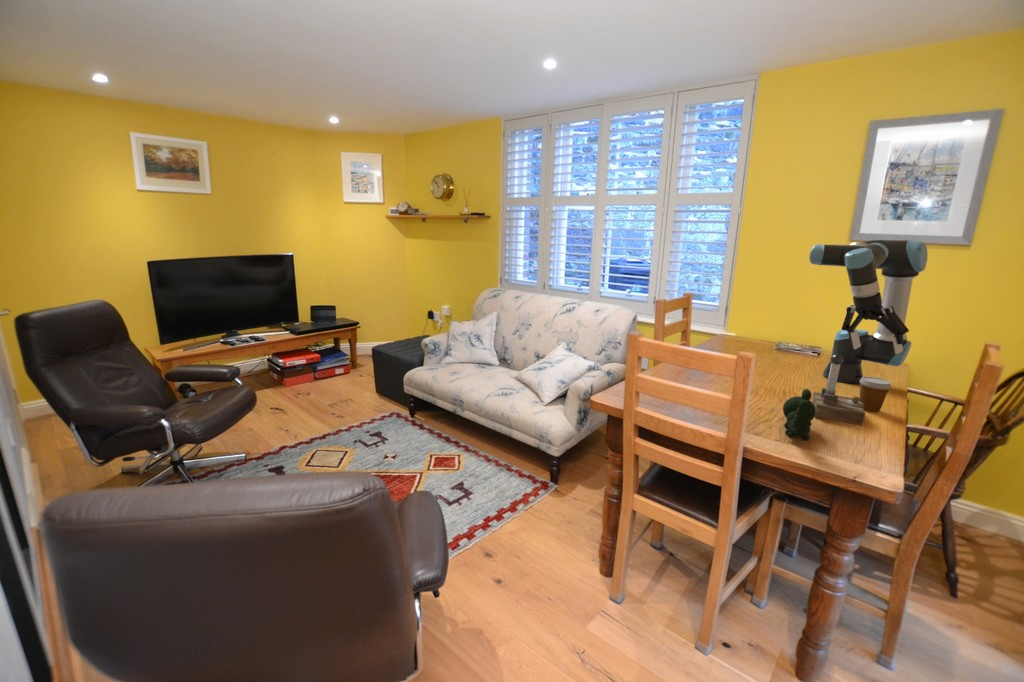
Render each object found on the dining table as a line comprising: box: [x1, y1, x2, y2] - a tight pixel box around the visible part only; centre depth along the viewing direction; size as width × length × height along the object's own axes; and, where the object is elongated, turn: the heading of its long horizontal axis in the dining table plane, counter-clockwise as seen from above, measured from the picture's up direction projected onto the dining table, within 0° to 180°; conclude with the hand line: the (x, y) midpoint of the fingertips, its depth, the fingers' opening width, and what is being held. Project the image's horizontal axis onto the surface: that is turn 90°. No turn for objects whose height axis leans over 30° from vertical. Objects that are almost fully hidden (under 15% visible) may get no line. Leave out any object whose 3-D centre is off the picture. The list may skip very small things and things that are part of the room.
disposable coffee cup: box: [859, 376, 892, 414], centre depth 171 cm, size 10×10×12 cm
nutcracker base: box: [811, 387, 866, 427], centre depth 166 cm, size 16×14×8 cm
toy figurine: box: [782, 388, 816, 442], centre depth 149 cm, size 9×19×25 cm
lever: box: [825, 355, 843, 395], centre depth 165 cm, size 4×4×17 cm
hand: (877, 349), depth 158 cm, fingers open, 13 cm apart
